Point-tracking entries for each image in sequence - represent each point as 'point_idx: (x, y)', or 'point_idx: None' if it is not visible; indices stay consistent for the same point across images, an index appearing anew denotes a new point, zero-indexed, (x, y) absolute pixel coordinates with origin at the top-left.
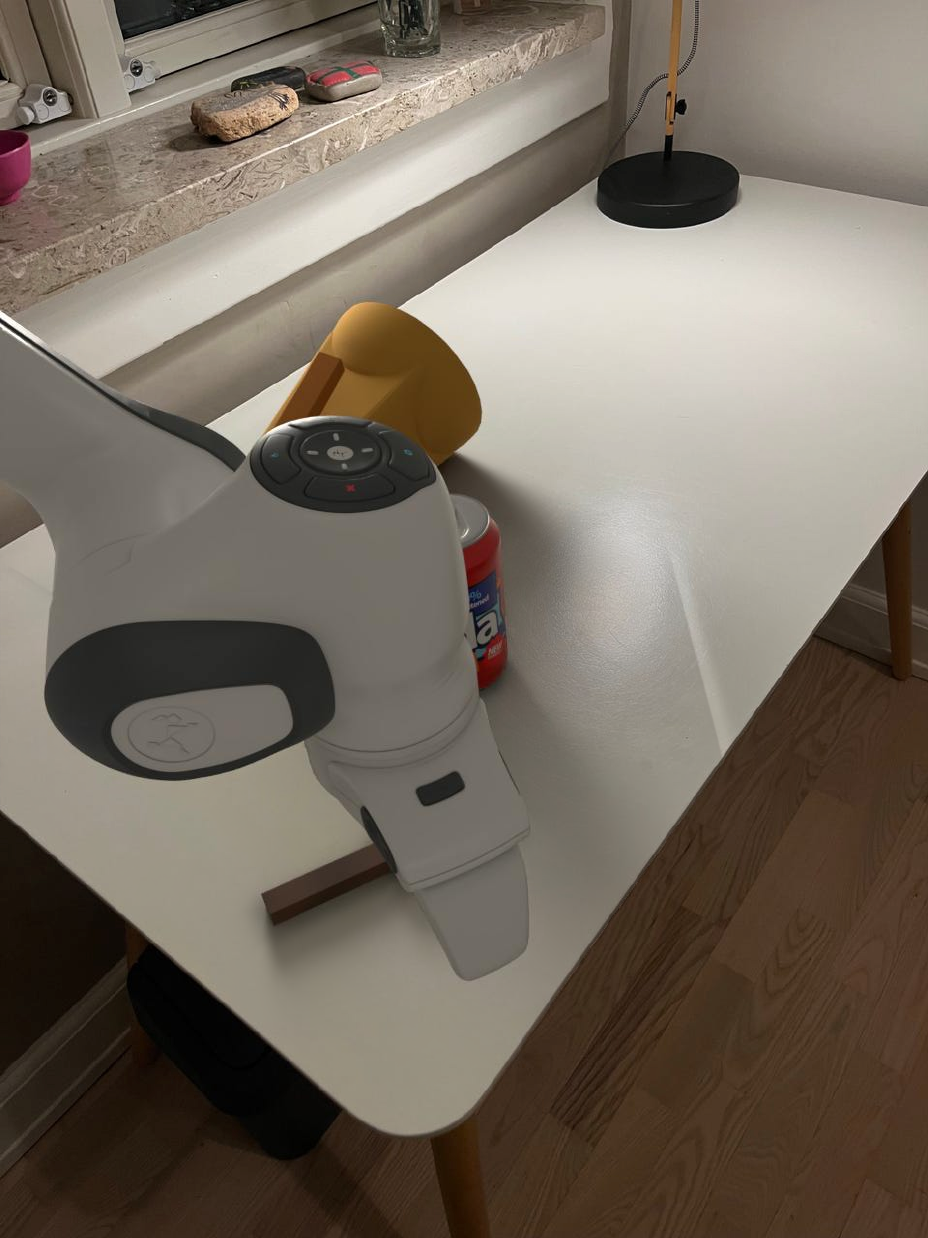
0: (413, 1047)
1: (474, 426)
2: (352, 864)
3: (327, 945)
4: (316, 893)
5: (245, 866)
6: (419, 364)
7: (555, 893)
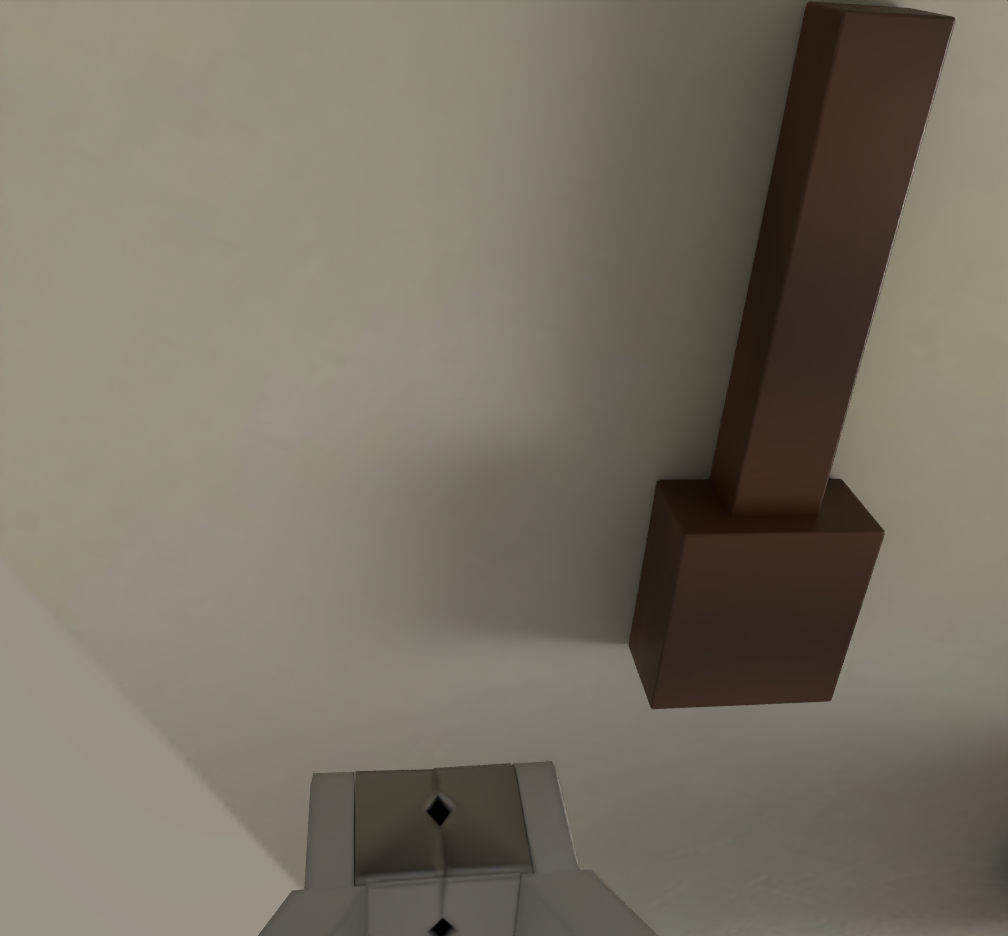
0: (77, 275)
1: None
2: (806, 391)
3: (601, 163)
4: (795, 230)
5: None
6: None
7: None
